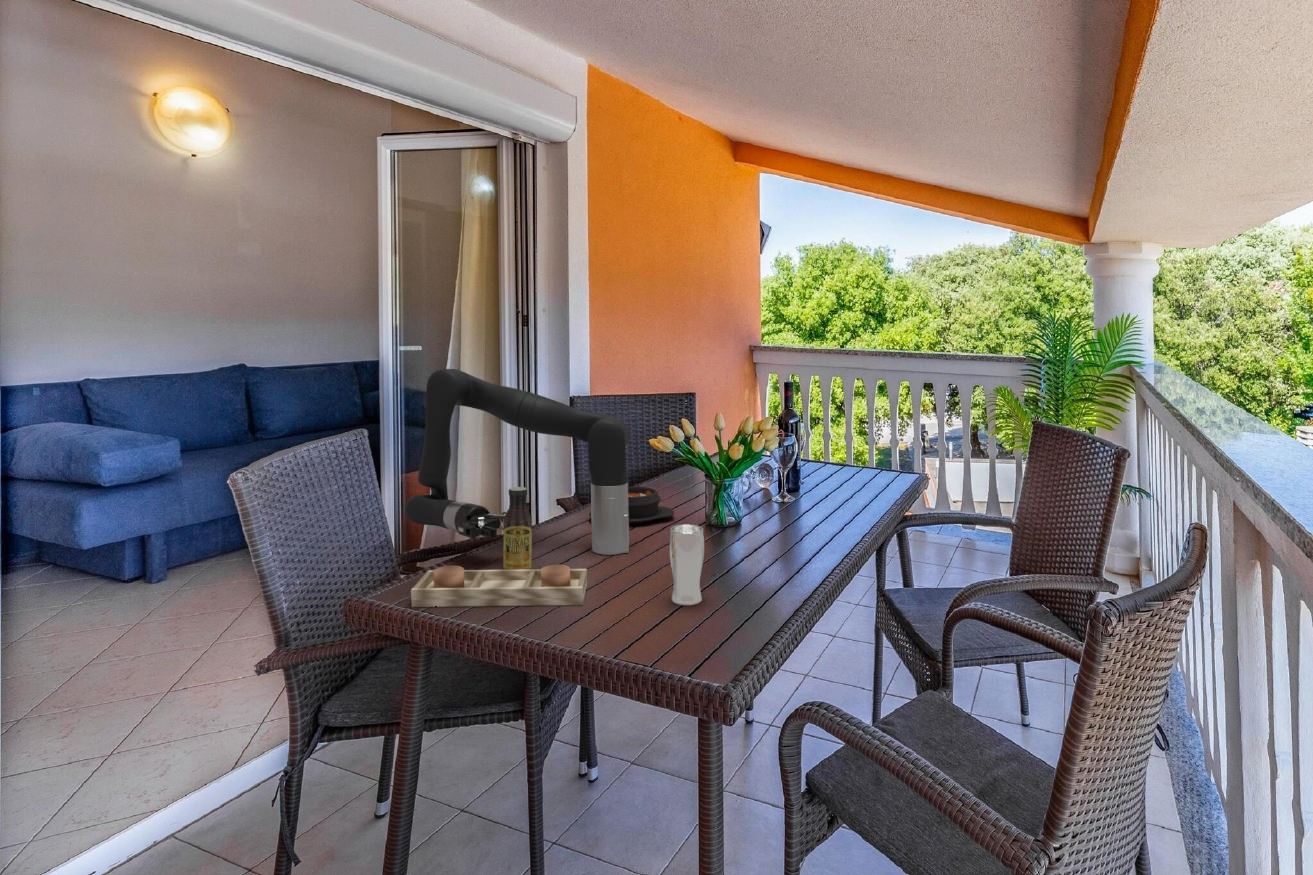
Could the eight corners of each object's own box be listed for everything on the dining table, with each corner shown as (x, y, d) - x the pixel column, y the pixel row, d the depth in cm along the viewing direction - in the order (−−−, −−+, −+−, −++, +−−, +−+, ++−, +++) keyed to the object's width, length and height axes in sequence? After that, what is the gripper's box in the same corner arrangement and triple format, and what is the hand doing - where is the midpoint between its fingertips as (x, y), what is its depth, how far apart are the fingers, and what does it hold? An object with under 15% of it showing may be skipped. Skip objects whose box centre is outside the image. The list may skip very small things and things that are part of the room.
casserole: (666, 509, 223) (666, 483, 222) (681, 525, 205) (681, 496, 204) (585, 514, 218) (585, 486, 217) (593, 530, 200) (592, 500, 199)
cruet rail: (587, 584, 157) (586, 559, 156) (582, 604, 145) (582, 578, 144) (429, 586, 156) (428, 561, 156) (411, 606, 145) (410, 580, 144)
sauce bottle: (503, 580, 160) (500, 492, 157) (503, 571, 166) (500, 486, 163) (533, 578, 161) (530, 490, 159) (532, 569, 167) (530, 484, 165)
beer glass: (667, 594, 151) (667, 524, 149) (701, 593, 151) (701, 523, 149) (671, 607, 144) (671, 533, 142) (706, 605, 145) (706, 532, 142)
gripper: (440, 509, 168) (484, 520, 158) (490, 498, 179) (534, 507, 169) (442, 540, 169) (485, 553, 159) (491, 527, 180) (535, 538, 170)
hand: (510, 529), depth 164 cm, fingers open, 8 cm apart
